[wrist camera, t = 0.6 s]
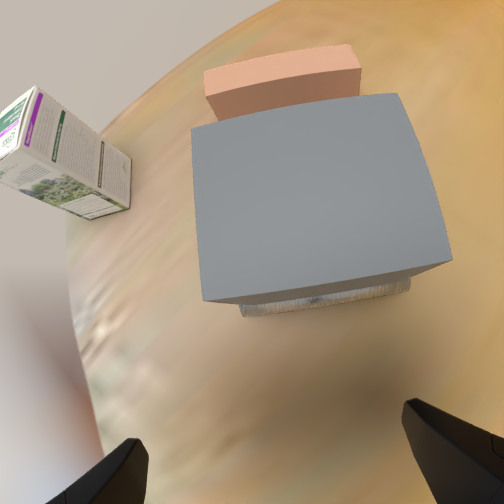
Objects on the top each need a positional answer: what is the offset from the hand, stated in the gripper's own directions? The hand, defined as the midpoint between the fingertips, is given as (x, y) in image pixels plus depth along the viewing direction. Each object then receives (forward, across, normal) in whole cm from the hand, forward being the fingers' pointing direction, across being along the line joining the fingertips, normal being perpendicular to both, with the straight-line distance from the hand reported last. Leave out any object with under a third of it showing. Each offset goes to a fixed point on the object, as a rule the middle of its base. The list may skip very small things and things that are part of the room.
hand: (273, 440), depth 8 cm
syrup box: (+23, +13, -10) cm, 28 cm away
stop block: (+21, -5, -14) cm, 26 cm away
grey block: (+13, -5, -4) cm, 14 cm away
